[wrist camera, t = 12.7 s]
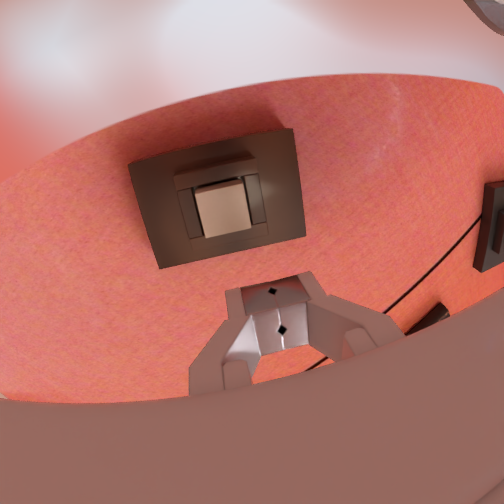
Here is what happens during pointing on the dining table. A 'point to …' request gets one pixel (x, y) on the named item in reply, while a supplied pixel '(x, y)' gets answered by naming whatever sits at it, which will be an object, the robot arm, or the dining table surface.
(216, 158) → the near block
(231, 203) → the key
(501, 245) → the far block
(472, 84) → the dining table surface
